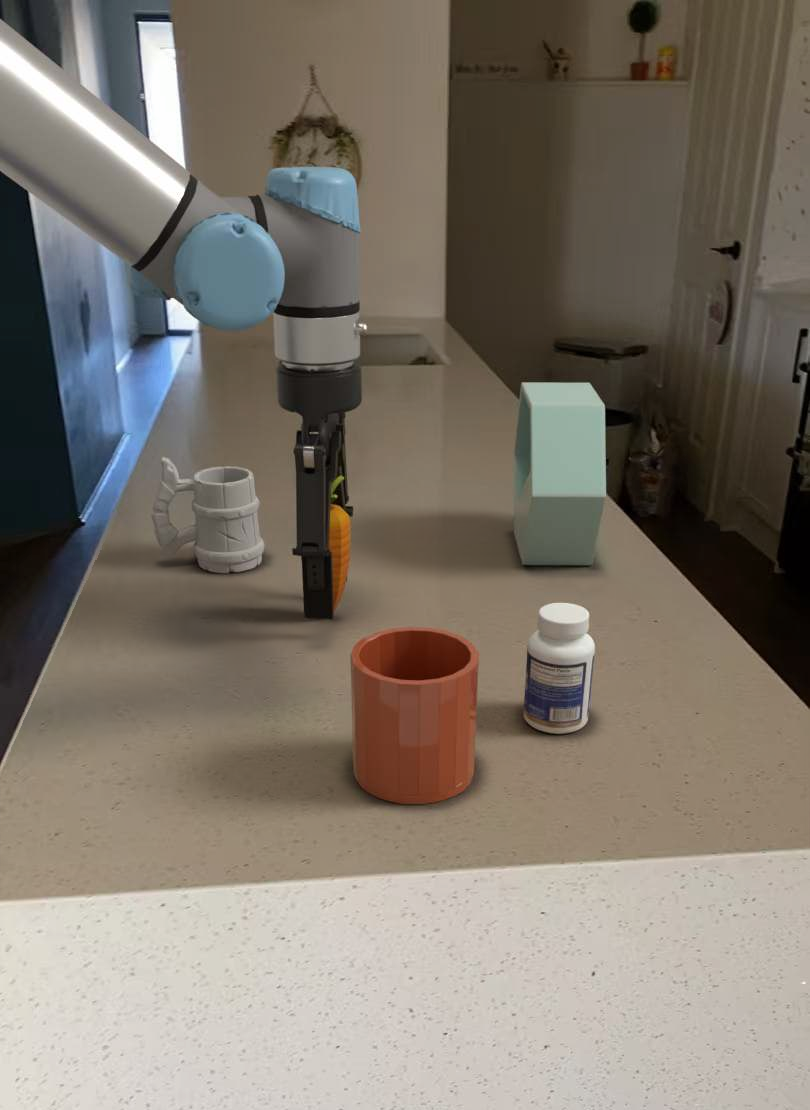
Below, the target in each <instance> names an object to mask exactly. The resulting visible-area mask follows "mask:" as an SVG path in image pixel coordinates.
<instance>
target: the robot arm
mask: <svg viewBox="0 0 810 1110" xmlns="http://www.w3.org/2000/svg"><path fill="white" fill-rule="evenodd" d="M0 172H1V173H3V174H4V175H5V176H6V177H8V178H9V179H11V180H12V181H13V182H15V183H16V184H17V185H19V186H20V187H22V188H23V189H24V190H26V192H28V193H30V194H31V195H32V196H34V197H35V198H36V199H38V200H39V201H41V202H42V203H43V204H45V205H46V206H48V207H49V208H51V209H52V210H53V211H55V212H56V213H57V214H58V215H60V216H61V217H63V218H64V219H65V220H67V221H68V222H70V223H71V224H73V225H74V226H75V227H76V228H78V229H79V230H81V231H82V232H83V233H85V234H86V235H87V236H89V237H90V238H92V239H93V240H94V241H96V242H97V243H98V244H100V245H101V246H102V247H104V248H105V249H106V250H108V251H110V252H111V253H112V254H113V255H114V256H117V258H119V259H120V260H122V261H123V263H124V268H125V274H126V280H127V283H128V287H129V290H130V291H131V292H132V294H133V295H134V296H136V297H137V298H140V299H161V300H163V301H171V300H172V299H174V300H175V301H177V302H178V303H179V304H181V305H182V306H183V308H184V310H185V311H186V312H187V313H188V314H189V315H190V316H192V317H193V318H194V319H195V320H197V321H199V322H200V323H202V324H204V325H205V326H206V327H209V328H213V329H217V330H219V331H224V332H242V331H247V330H250V329H252V328H254V327H257V326H258V325H260V324H262V323H263V322H264V321H265V320H266V319H267V318H269V317H270V316H271V315H272V319H273V321H272V322H273V341H274V343H273V344H274V356H275V358H276V359H277V360H278V361H279V362H280V363H279V364H278V366H277V367H276V372H275V373H276V387H277V403H278V405H279V406H280V408H281V409H284V410H285V411H287V412H290V413H297V414H298V415H300V416H301V417H302V422H301V427H300V429H297V430H296V432H295V434H296V435H295V445H294V448H293V455H294V463H295V491H296V492H295V504H296V505H295V506H296V507H295V508H296V509H295V511H296V512H295V513H296V514H295V516H296V517H295V519H296V546H295V547H292V548H291V551H292V552H291V553H292V555H293V556H297V557H301V556H302V560H301V573H302V574H301V576H302V597H303V619H311V620H313V619H314V620H315V619H316V620H333V619H334V617H335V611H334V606H333V573H332V552H330V547H329V534H330V507H331V484H332V483H333V481H334V480H336V478H338V477H339V476H343V477H344V478H345V479H344V480H343V481H342V482H341V483H340V484H338V486H337V487H336V488H335V490H334V492H333V493H332V494H335V495H337V498H336V499H335V500H334V501H333V503H332V504H333V505H338V506H340V507H341V508H342V509H343V510H344V511H345V512H346V513H347V514H348V515H349V518H350V517H353V516H354V506H353V505H348V503H349V501H350V495H349V489H348V486H349V485H348V471H347V470H348V469H347V451H346V433H347V432H346V423H345V421H346V417H347V416H346V415H347V414H346V413H348V412H351V411H355V410H356V409H357V408H358V407H359V406H360V405H361V404H362V400H363V391H362V387H363V385H362V382H363V381H362V366H360V364H359V362H358V361H356V360H357V359H358V358H359V357H360V356H361V335H362V336H363V335H366V334H367V333H368V326H367V324H366V323H365V322H359V319H360V317H361V314H360V310H361V308H360V307H361V305H360V259H361V258H360V255H361V254H360V253H361V252H360V245H361V244H360V241H361V239H360V236H361V235H360V233H362V228H361V225H360V212H359V197H358V186H357V181H356V179H355V177H354V176H353V175H352V173H351V172H350V171H348V170H346V169H343V168H341V167H334V166H333V167H332V166H331V167H330V166H292V167H275V168H272V169H270V170H269V171H268V172H267V174H266V186H265V188H264V193H262V194H261V193H260V194H255V195H248V196H220V195H218V194H217V193H216V192H215V191H214V190H212V189H211V188H210V187H208V186H207V185H206V184H204V183H203V182H202V181H200V180H199V179H197V178H196V177H195V176H193V175H192V174H191V172H190V171H189V170H188V169H186V168H185V167H184V166H183V165H181V164H180V163H179V162H177V160H176V159H174V158H173V157H171V155H169V154H168V153H167V152H165V151H164V150H163V149H162V148H160V147H159V146H158V145H157V144H156V143H154V142H153V141H152V140H150V139H149V138H148V137H147V136H146V135H144V134H143V133H142V132H141V131H139V130H138V129H137V128H136V127H135V126H134V125H132V124H131V123H130V122H128V121H127V120H126V119H125V118H123V117H122V116H121V115H120V114H118V113H117V112H116V111H115V110H113V109H112V108H111V107H110V106H108V105H107V104H106V103H105V102H103V100H101V99H100V98H99V97H98V96H97V95H95V94H94V93H93V92H91V91H90V90H89V89H88V88H86V87H85V86H84V85H83V84H81V83H80V82H79V81H78V80H76V79H75V78H74V77H73V76H72V75H71V74H69V73H68V72H67V71H65V70H64V69H63V68H62V67H60V66H59V65H58V64H57V63H56V62H54V61H53V60H51V58H50V57H48V56H47V55H45V54H44V53H43V52H42V51H41V50H40V49H38V47H36V46H34V45H33V44H32V43H31V42H29V41H28V40H27V39H26V38H25V37H24V36H23V35H21V34H20V33H19V32H18V31H16V30H14V28H13V27H11V26H10V25H9V24H8V23H6V22H5V21H4V20H2V18H0ZM347 581H348V577H347V578H346V582H347Z"/></svg>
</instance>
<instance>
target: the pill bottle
mask: <svg viewBox="0 0 810 1110" xmlns="http://www.w3.org/2000/svg"><path fill="white" fill-rule="evenodd" d="M589 628H590V612H589V611H588V610H587V608H585V607H583V606H581V605H579V604H575V603H569V602H568V603H567V602H554V603H547V604H544V605H542V606H541V607H540V608H539V609H538V617H537V630H535V631H534V632H532V634H531V635H530V637H529V638H528V641H527V645H526V646H527V647H526V666H525V679H524V680H525V683H524V698H523V718H524V720H525V721H526V723H527V724H528V725H529V726H530V727H532V728H534V729H536V730H537V731H540V732H544V733H549V734H556V735H559V734H560V735H565V734H569V733H574V732H577V731H579V730H580V729H583V728H584V727H585V725H587V723H588V720H589V714H590V706H591V695H592V685H593V676H594V675H593V673H594V663H595V655H596V645H595V641H594V640H593V638H592V636H591V635H590V634H588V632H589Z"/></svg>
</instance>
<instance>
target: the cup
mask: <svg viewBox="0 0 810 1110" xmlns="http://www.w3.org/2000/svg"><path fill="white" fill-rule="evenodd" d="M350 653H351V654H350V686H351V687H350V691H351V737H352V739H351V740H352V764H353V776H354V779H355V780H356V782H357V784H358V785H359V786H360V787H361V789H363V790H364V791H365V792H367V793H368V794H370V795H372V796H374V797H376V798H378V799H380V800H384V801H387V802H392V803H395V804H402V805H426V804H433V803H434V804H435V803H438V802H442V801H446V800H449V799H451V798H453V797H455V796H457V795H459V794H460V793H462V792H463V791H465V790H466V789H467V788H468V787H469V785H470V784H471V783H472V781H473V778H474V774H475V759H476V758H475V757H476V735H477V733H476V732H477V712H478V711H477V709H478V707H477V706H478V685H479V684H478V681H479V663H480V659H479V658H480V653H479V651H478V650H477V648H476V646H475V645H474V643H473V642H471V641H470V640H468V639H467V638H465V637H464V636H462V635H459V634H457V633H455V632H451V631H448V630H444V629H439V628H434V627H421V626H405V627H395V628H389V629H384V630H381V631H378V632H374V633H372V634H370V635H368V636H365V637H363V638H362V639H360V640H359V641H358V642H357V643H356V644H354V645H353V647H352V649H351V652H350Z"/></svg>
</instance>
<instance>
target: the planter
mask: <svg viewBox="0 0 810 1110" xmlns="http://www.w3.org/2000/svg"><path fill="white" fill-rule="evenodd" d="M606 459H607V455H606V405H605V403H604V401H603V400H602V399H601V397H600V396H599V394H598V393H597V391H596V390H595V388H594V387H593V385H592V384H591V383H590V382H553V381H552V382H550V381H549V382H545V381H544V382H538V381H536V382H534V381H533V382H531V381H529V382H526V381H525V382H521V384H520V389H519V399H518V408H517V417H516V428H515V436H514V446H513V534H514V539H515V541H516V546H517V551H518V554H519V557H520V561H521V564H522V565H523V566H592V565H593V563H594V560H595V559H594V558H595V553H596V548H597V544H598V539H599V533H600V529H601V523H602V518H603V514H604V508H605V504H606V500H607V465H606V464H607V460H606Z"/></svg>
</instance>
